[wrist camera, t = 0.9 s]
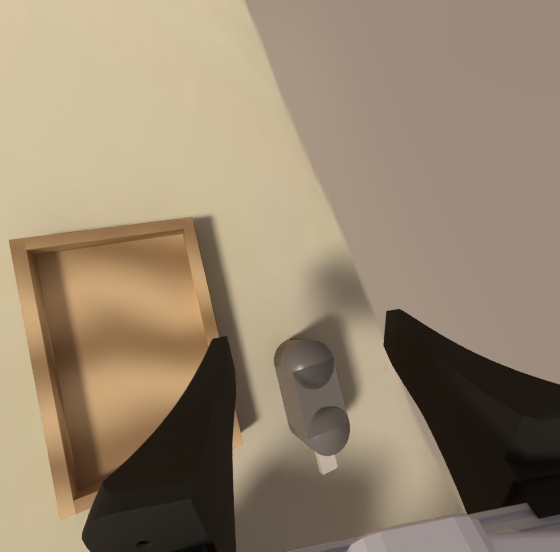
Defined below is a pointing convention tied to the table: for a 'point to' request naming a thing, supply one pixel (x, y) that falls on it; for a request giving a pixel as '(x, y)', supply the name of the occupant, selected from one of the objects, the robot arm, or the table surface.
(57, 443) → the oak tray
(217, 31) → the table surface
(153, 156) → the table surface
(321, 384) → the grey rounded long block
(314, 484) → the table surface
